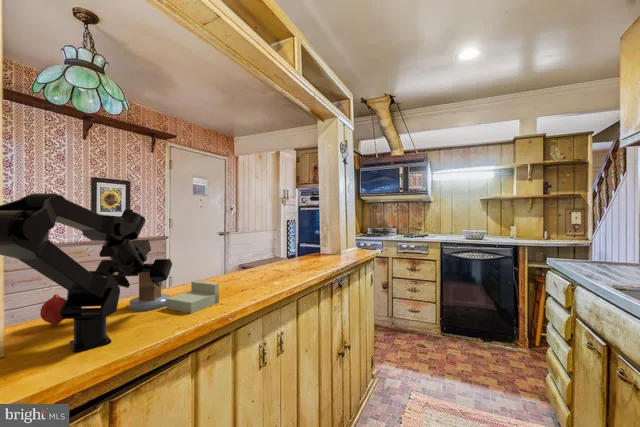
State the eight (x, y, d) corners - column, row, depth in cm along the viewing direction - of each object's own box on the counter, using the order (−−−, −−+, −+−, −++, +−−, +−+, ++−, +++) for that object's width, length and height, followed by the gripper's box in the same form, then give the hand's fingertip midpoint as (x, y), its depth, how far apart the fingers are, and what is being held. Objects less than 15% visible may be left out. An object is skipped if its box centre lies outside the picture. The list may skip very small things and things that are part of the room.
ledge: (191, 313, 85) (191, 292, 85) (166, 308, 89) (166, 288, 89) (218, 302, 95) (218, 283, 95) (195, 298, 99) (195, 280, 99)
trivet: (175, 304, 92) (175, 298, 92) (135, 313, 84) (135, 306, 84) (162, 297, 100) (162, 291, 100) (124, 305, 92) (124, 298, 92)
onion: (35, 326, 75) (35, 295, 75) (63, 319, 80) (63, 289, 80) (46, 330, 72) (46, 298, 72) (74, 323, 77) (74, 292, 77)
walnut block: (154, 300, 90) (154, 271, 90) (139, 301, 90) (138, 271, 90) (161, 296, 95) (161, 268, 95) (146, 296, 94) (146, 268, 94)
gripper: (169, 230, 84) (184, 263, 95) (100, 231, 83) (123, 264, 94) (156, 263, 76) (174, 294, 87) (79, 264, 75) (107, 296, 86)
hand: (144, 286), depth 89 cm, fingers open, 9 cm apart
